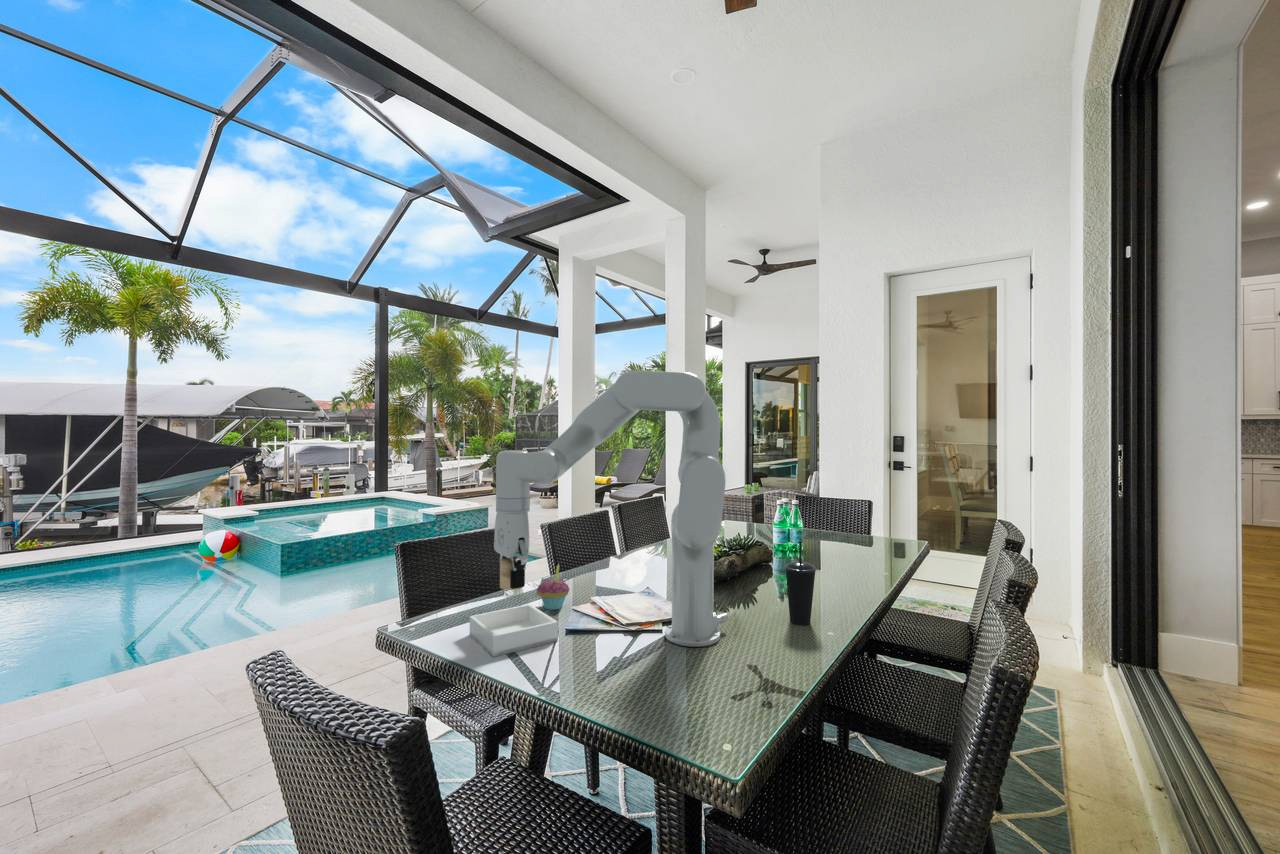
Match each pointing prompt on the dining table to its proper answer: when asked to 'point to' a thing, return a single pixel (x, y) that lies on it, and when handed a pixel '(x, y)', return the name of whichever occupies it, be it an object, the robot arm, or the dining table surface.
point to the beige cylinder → (506, 573)
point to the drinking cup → (800, 589)
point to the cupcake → (553, 592)
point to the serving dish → (513, 629)
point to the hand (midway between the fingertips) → (512, 583)
